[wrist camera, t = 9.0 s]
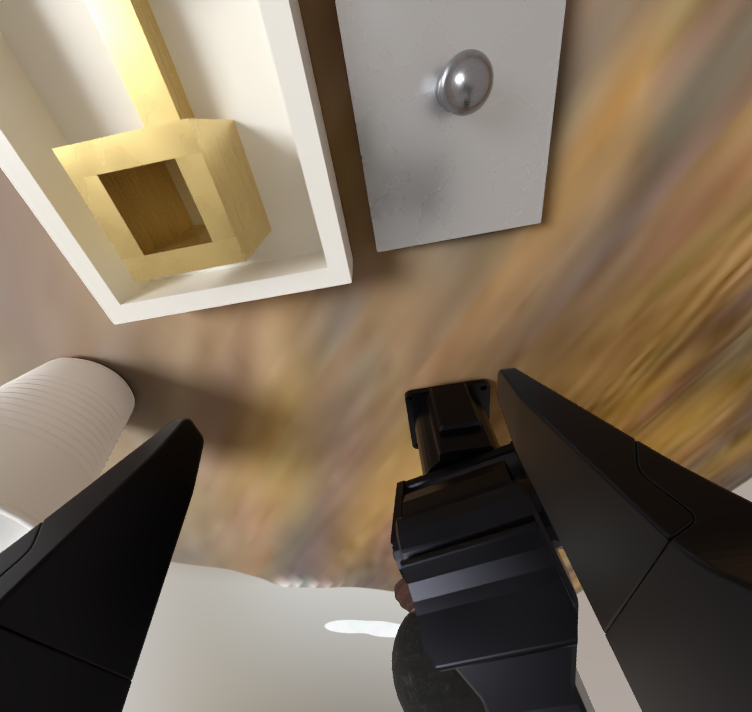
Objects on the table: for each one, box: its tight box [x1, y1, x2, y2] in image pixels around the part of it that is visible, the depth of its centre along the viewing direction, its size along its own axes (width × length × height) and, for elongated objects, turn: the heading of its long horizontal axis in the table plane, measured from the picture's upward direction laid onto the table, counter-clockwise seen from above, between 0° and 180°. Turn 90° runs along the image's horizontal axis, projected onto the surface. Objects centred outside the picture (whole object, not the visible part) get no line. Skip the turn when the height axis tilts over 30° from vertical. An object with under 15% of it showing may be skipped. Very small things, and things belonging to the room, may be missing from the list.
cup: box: [0, 358, 135, 553], centre depth 20 cm, size 10×10×11 cm
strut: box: [52, 0, 272, 282], centre depth 13 cm, size 12×5×5 cm, turn 10°
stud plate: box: [335, 0, 566, 252], centre depth 13 cm, size 16×9×4 cm, turn 10°
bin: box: [0, 0, 353, 325], centre depth 14 cm, size 17×13×4 cm
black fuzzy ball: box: [392, 579, 486, 712], centre depth 41 cm, size 13×13×15 cm
